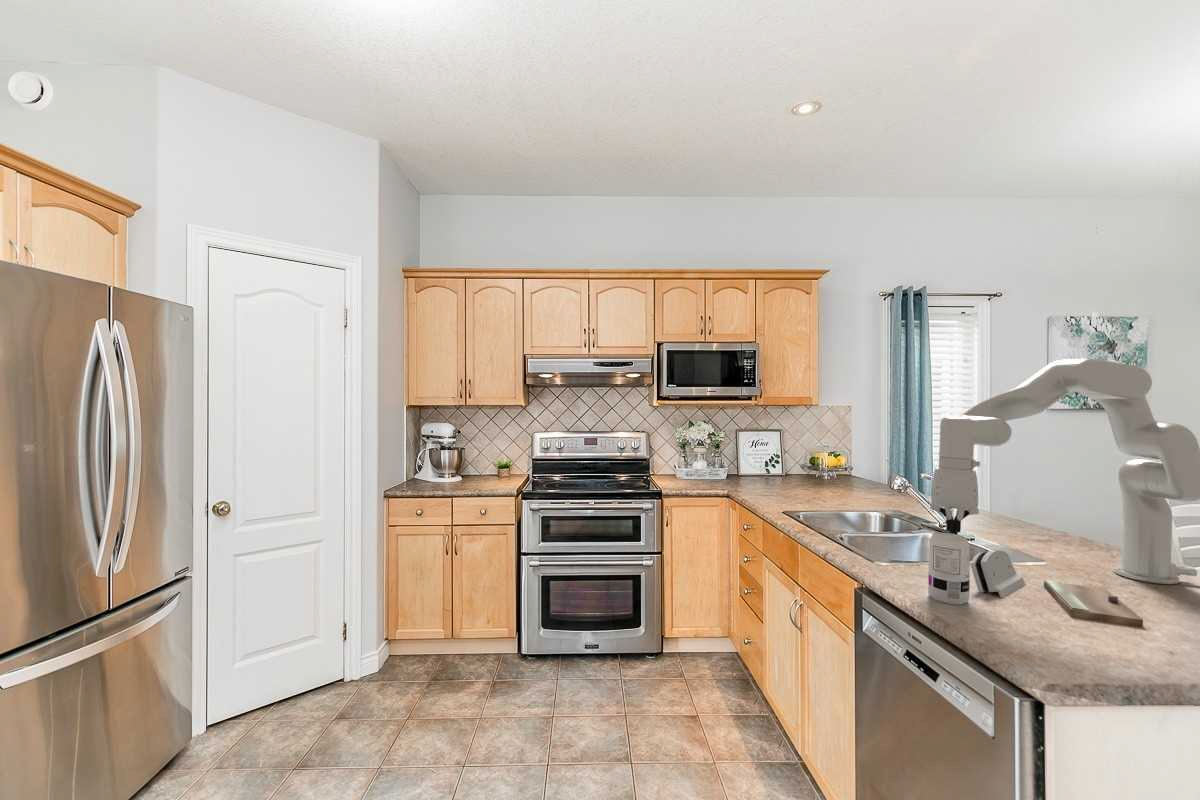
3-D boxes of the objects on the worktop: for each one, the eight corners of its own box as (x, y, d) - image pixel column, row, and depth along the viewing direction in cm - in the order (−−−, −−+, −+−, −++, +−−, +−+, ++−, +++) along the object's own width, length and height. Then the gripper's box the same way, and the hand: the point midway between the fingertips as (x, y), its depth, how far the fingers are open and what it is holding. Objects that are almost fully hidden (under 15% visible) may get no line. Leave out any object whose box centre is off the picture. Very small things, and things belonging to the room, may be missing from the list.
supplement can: (920, 593, 135) (921, 532, 135) (952, 592, 136) (953, 531, 136) (943, 606, 127) (945, 541, 127) (977, 605, 128) (978, 540, 128)
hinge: (1002, 598, 133) (986, 555, 135) (980, 599, 136) (965, 557, 139) (1026, 584, 143) (1011, 544, 145) (1005, 585, 146) (991, 547, 149)
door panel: (1104, 594, 136) (1105, 583, 136) (1142, 626, 117) (1143, 614, 117) (1043, 586, 141) (1043, 576, 141) (1070, 616, 122) (1070, 604, 122)
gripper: (987, 465, 144) (984, 535, 145) (921, 460, 151) (919, 527, 151) (993, 468, 138) (990, 542, 138) (923, 463, 144) (921, 533, 144)
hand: (953, 534), depth 145 cm, fingers closed
